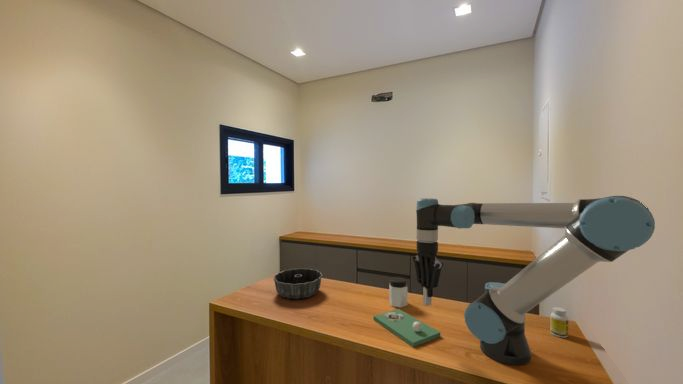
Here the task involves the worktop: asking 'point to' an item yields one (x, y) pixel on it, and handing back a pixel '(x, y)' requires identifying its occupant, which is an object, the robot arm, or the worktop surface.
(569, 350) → the worktop surface
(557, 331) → the supplement bottle
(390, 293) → the jar
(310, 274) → the bundt pan
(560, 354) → the worktop surface
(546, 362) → the worktop surface
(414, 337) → the mat
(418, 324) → the ball
